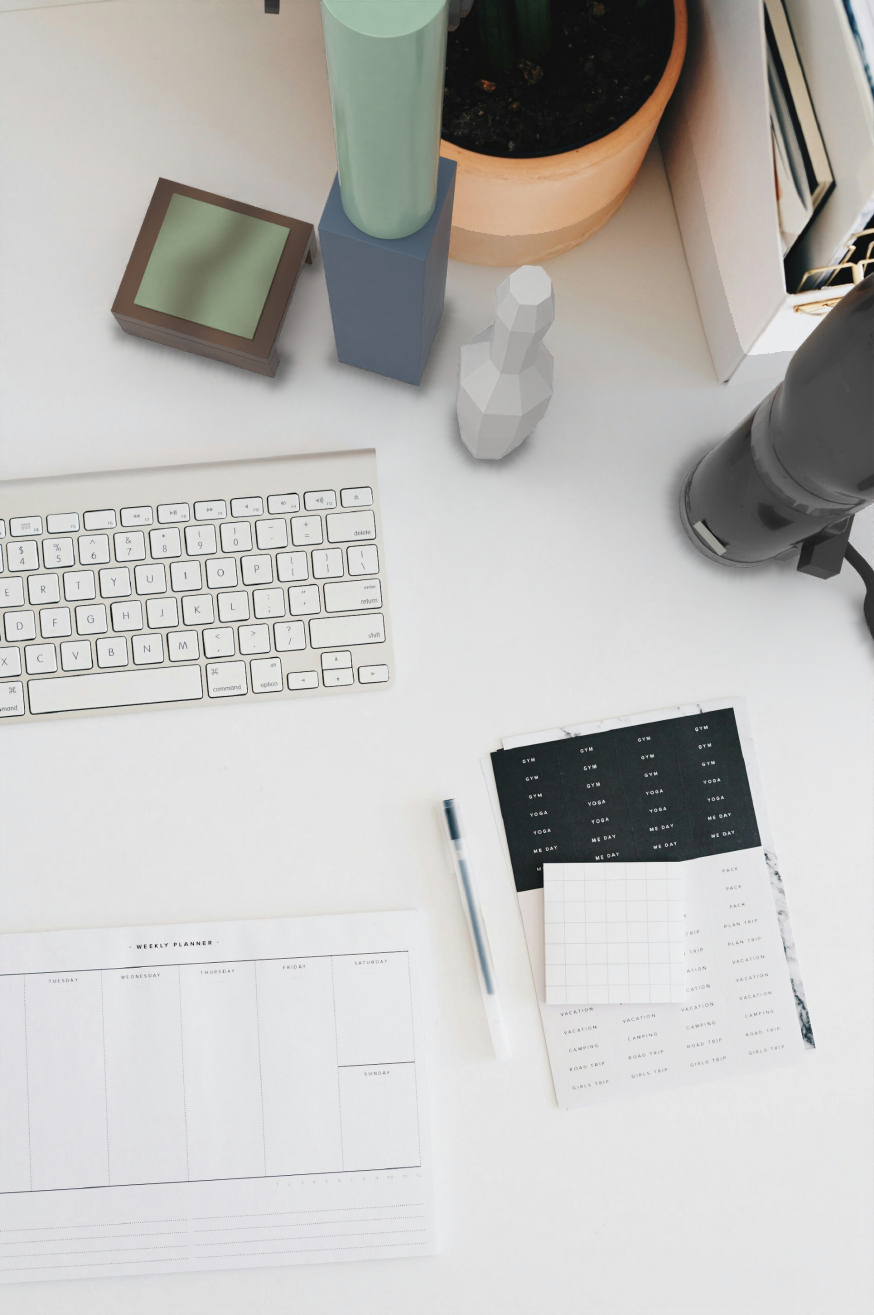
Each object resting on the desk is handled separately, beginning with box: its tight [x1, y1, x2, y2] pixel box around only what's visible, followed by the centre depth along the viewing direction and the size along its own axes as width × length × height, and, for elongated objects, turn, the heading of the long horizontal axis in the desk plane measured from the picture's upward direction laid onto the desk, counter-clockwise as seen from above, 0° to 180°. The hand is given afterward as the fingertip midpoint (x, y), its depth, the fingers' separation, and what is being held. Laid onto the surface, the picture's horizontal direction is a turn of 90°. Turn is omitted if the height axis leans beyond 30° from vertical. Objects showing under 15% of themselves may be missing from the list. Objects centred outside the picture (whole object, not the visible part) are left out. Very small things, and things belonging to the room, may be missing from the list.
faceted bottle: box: [455, 264, 556, 461], centre depth 60 cm, size 6×6×22 cm
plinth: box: [317, 155, 458, 387], centre depth 62 cm, size 6×6×18 cm
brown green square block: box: [110, 176, 319, 379], centre depth 69 cm, size 12×11×4 cm
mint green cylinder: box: [318, 0, 450, 239], centre depth 46 cm, size 6×6×15 cm
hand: (362, 19), depth 44 cm, fingers open, 8 cm apart
